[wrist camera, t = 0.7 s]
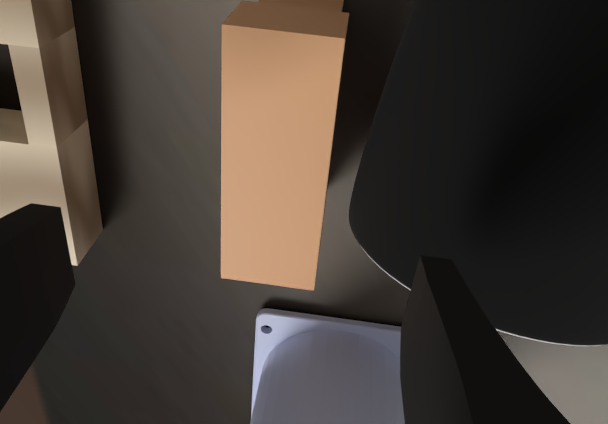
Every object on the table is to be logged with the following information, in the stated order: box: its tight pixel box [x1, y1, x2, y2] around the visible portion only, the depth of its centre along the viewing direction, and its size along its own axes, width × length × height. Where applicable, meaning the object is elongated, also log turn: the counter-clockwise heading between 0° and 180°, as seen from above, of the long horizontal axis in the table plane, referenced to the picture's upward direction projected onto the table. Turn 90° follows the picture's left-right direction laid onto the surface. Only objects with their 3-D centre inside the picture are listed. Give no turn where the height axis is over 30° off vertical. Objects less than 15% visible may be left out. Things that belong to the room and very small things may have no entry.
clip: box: [221, 0, 349, 291], centre depth 18 cm, size 8×3×6 cm, turn 175°
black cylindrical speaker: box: [349, 0, 608, 346], centre depth 15 cm, size 12×9×10 cm
